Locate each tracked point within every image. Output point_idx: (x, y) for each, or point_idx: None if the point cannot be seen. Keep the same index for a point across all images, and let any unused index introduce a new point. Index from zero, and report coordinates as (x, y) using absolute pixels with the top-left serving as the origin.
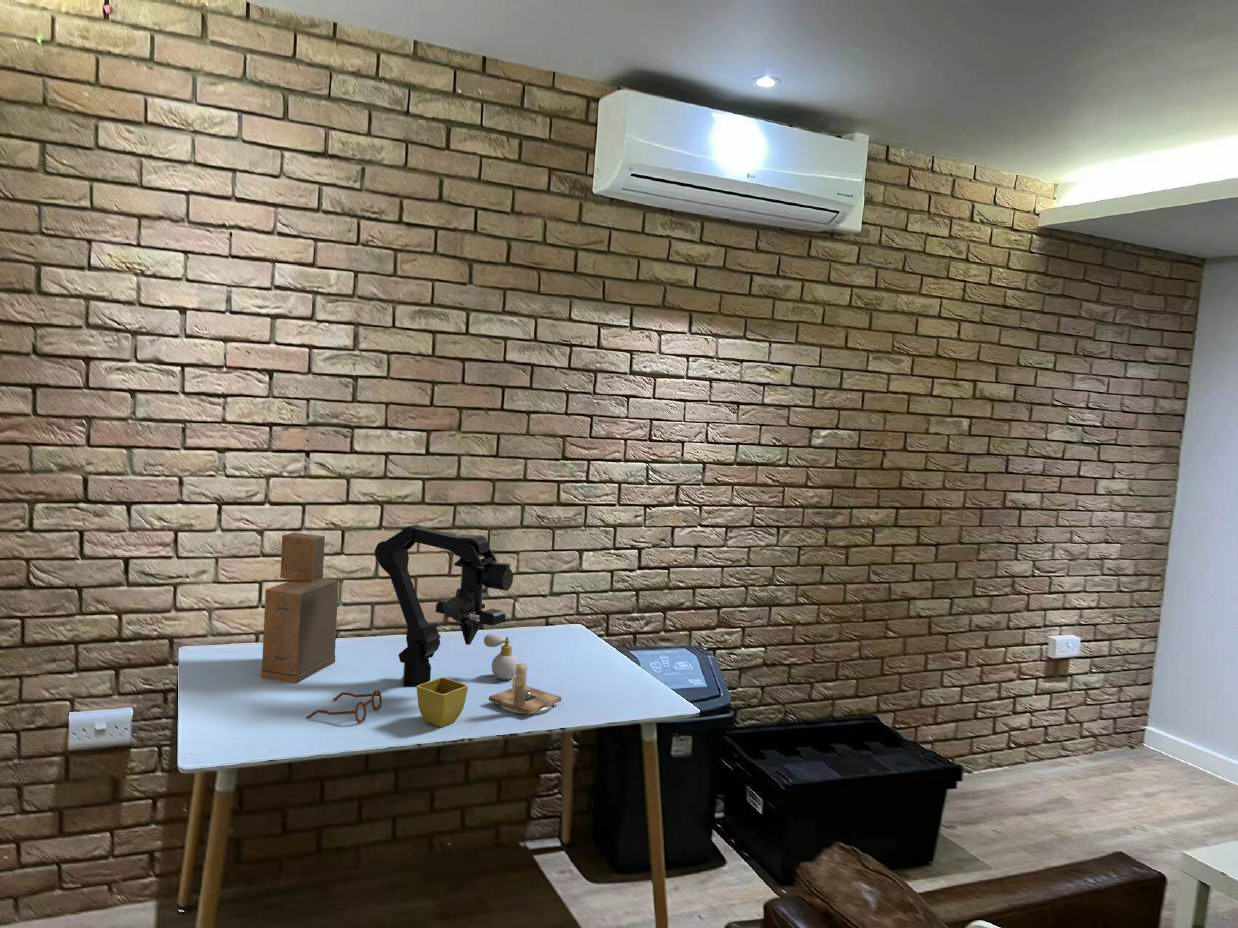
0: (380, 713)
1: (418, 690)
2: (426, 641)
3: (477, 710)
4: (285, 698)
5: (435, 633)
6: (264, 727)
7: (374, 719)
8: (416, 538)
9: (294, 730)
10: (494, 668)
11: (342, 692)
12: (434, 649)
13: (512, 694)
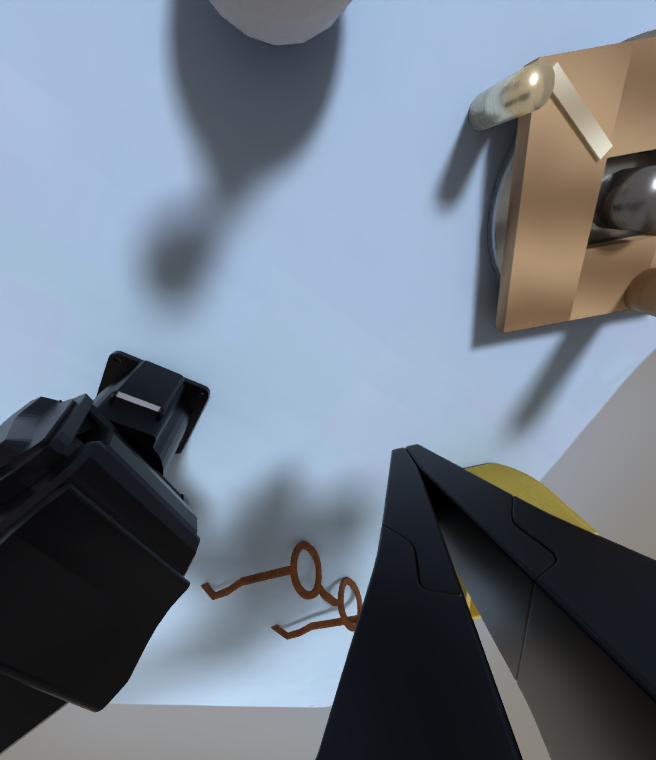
0: (333, 549)
1: (470, 606)
2: (180, 594)
3: (488, 377)
4: (154, 632)
5: (56, 551)
6: (279, 662)
7: (355, 564)
8: None
9: (316, 643)
10: (277, 38)
11: (213, 598)
12: (146, 470)
13: (570, 232)
